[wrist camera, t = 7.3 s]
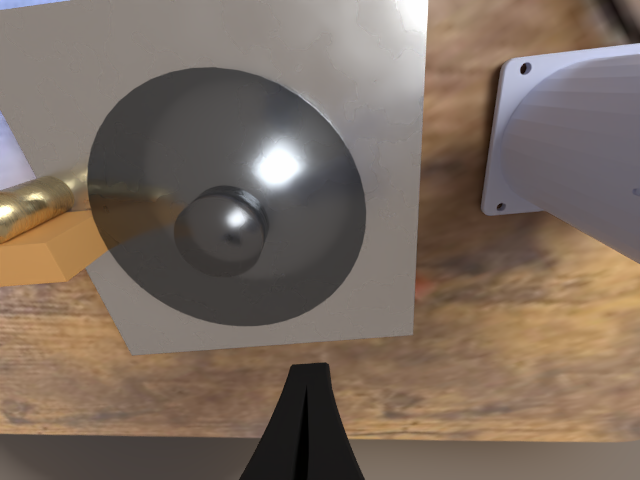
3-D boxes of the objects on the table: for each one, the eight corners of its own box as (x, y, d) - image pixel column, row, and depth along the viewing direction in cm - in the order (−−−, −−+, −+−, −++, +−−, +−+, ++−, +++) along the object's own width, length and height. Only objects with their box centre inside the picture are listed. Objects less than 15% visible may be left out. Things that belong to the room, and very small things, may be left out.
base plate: (419, -36, 13) (477, -108, 8) (407, 319, 22) (431, 386, 17) (-25, 24, 14) (-208, -7, 9) (136, 340, 23) (87, 408, 18)
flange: (358, 52, 13) (372, 39, 10) (366, 305, 20) (376, 356, 16) (-30, 94, 14) (-153, 98, 10) (97, 324, 20) (48, 376, 17)
